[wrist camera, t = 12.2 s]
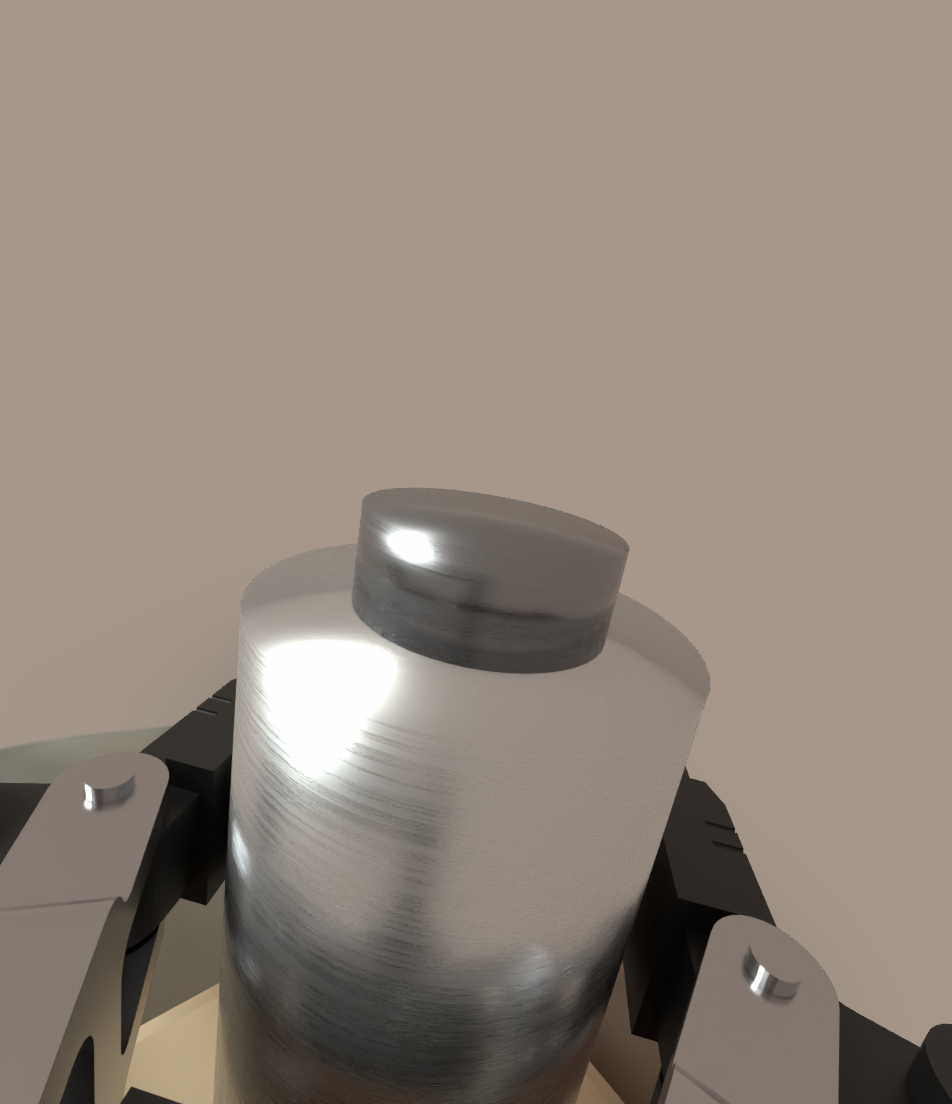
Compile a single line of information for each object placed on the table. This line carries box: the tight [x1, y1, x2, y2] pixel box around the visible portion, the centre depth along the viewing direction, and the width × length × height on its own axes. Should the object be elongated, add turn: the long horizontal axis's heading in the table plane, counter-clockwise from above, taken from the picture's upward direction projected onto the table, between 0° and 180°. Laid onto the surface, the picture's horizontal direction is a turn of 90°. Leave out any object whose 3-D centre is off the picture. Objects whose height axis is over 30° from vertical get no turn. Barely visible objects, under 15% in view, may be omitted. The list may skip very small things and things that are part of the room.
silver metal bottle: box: [213, 488, 710, 1104], centre depth 8 cm, size 6×6×13 cm
